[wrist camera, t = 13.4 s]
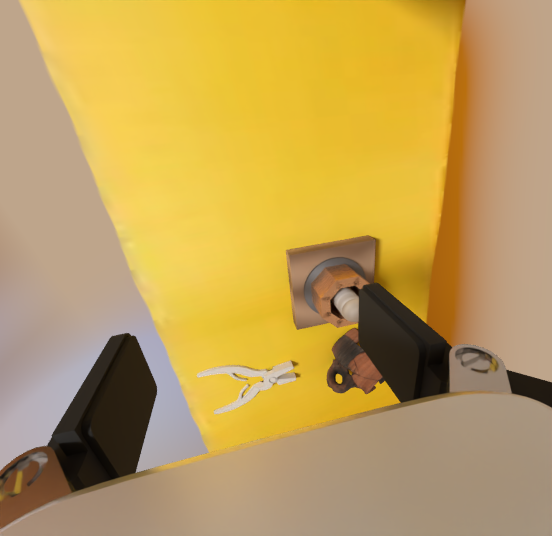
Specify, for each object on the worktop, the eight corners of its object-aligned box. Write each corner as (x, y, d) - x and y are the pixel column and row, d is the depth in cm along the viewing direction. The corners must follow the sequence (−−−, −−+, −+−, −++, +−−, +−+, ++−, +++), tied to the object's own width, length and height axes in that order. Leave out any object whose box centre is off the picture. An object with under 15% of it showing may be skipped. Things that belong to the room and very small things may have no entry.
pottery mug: (366, 313, 44) (409, 352, 39) (363, 335, 51) (398, 370, 47) (310, 358, 42) (347, 406, 37) (315, 374, 49) (346, 416, 44)
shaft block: (285, 250, 36) (305, 280, 28) (368, 235, 38) (411, 259, 29) (293, 321, 41) (312, 366, 33) (366, 306, 43) (402, 345, 34)
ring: (309, 270, 35) (320, 283, 32) (359, 260, 36) (374, 272, 32) (313, 313, 38) (322, 330, 35) (358, 304, 39) (372, 319, 35)
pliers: (195, 378, 41) (289, 350, 42) (196, 370, 42) (287, 344, 43) (214, 419, 45) (299, 393, 46) (215, 411, 46) (297, 386, 47)
